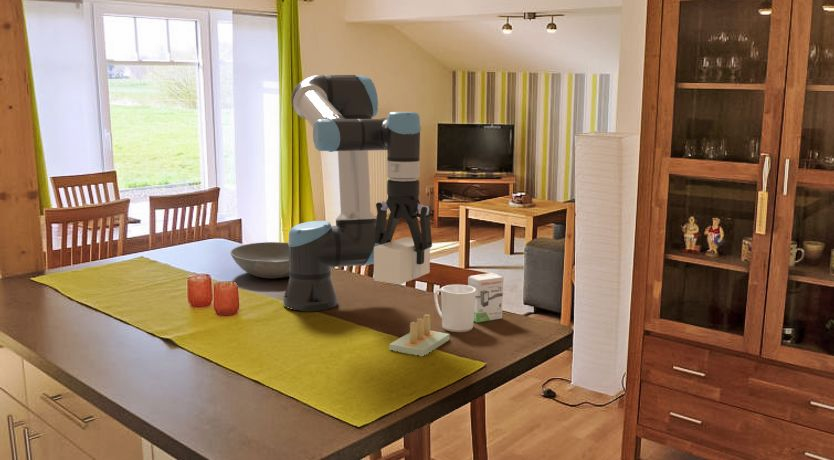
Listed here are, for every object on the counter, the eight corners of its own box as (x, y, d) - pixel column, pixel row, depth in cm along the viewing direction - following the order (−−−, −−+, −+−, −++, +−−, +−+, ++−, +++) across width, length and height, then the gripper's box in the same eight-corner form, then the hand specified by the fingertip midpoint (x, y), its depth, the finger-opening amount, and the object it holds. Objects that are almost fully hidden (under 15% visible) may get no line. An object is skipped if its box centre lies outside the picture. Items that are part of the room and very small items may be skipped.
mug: (478, 324, 207) (479, 286, 205) (469, 334, 199) (470, 295, 197) (438, 319, 211) (439, 282, 209) (428, 329, 202) (429, 290, 201)
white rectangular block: (399, 284, 179) (400, 250, 177) (373, 280, 182) (373, 246, 181) (429, 272, 191) (430, 240, 189) (404, 269, 194) (405, 237, 193)
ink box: (476, 323, 208) (478, 280, 206) (466, 318, 213) (467, 275, 210) (502, 318, 213) (504, 276, 211) (491, 313, 217) (493, 272, 215)
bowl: (216, 283, 245) (215, 257, 243) (250, 263, 272) (249, 239, 270) (301, 288, 240) (300, 262, 239) (326, 267, 268) (326, 243, 266)
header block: (389, 350, 187) (389, 323, 185) (417, 333, 199) (417, 309, 197) (423, 356, 182) (423, 329, 181) (449, 339, 195) (449, 314, 193)
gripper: (358, 177, 184) (358, 273, 188) (433, 183, 174) (431, 284, 178) (375, 174, 190) (375, 267, 195) (448, 180, 181) (447, 277, 185)
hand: (402, 275), depth 186 cm, fingers closed on white rectangular block, 7 cm apart
